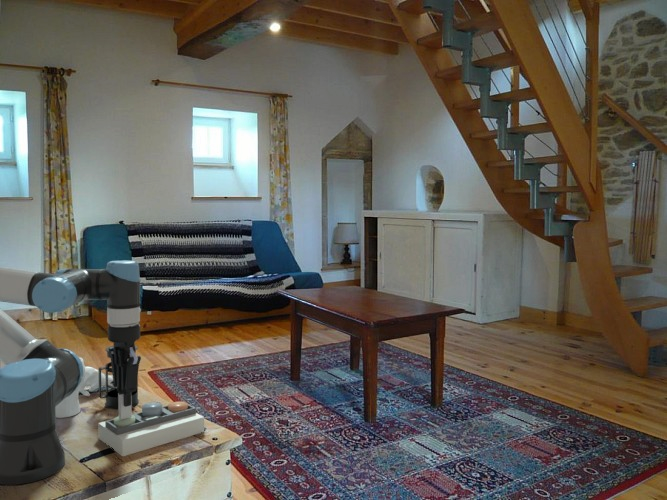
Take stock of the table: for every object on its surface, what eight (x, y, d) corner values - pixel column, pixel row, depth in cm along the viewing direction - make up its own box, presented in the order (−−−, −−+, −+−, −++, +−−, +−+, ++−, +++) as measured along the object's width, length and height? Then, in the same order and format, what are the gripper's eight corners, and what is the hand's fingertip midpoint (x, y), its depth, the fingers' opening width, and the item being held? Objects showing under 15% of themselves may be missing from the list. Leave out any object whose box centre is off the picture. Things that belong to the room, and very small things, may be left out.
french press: (135, 395, 174) (134, 322, 173) (145, 404, 167) (145, 328, 165) (95, 403, 167) (94, 327, 165) (104, 412, 160) (103, 333, 158)
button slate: (147, 418, 141) (147, 410, 141) (138, 412, 145) (138, 405, 145) (166, 413, 145) (165, 405, 145) (156, 408, 148) (156, 400, 148)
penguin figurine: (73, 365, 175) (112, 362, 183) (71, 392, 175) (110, 388, 183) (79, 370, 170) (119, 367, 178) (77, 398, 170) (117, 394, 178)
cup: (74, 420, 154) (74, 366, 152) (36, 419, 154) (35, 365, 153) (92, 406, 164) (91, 356, 163) (56, 405, 164) (55, 355, 163)
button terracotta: (174, 417, 146) (174, 409, 146) (164, 411, 150) (164, 404, 150) (191, 412, 150) (191, 405, 150) (181, 407, 153) (181, 400, 153)
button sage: (119, 431, 136) (119, 423, 136) (110, 425, 140) (110, 418, 140) (138, 426, 140) (138, 418, 140) (130, 420, 143) (129, 413, 143)
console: (122, 456, 132) (122, 433, 132) (98, 438, 142) (98, 417, 142) (204, 431, 148) (204, 411, 147) (177, 416, 158) (177, 397, 157)
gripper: (150, 326, 136) (151, 421, 138) (127, 317, 145) (128, 407, 147) (120, 330, 130) (121, 429, 132) (97, 321, 140) (99, 414, 142)
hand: (125, 417), depth 140 cm, fingers closed
